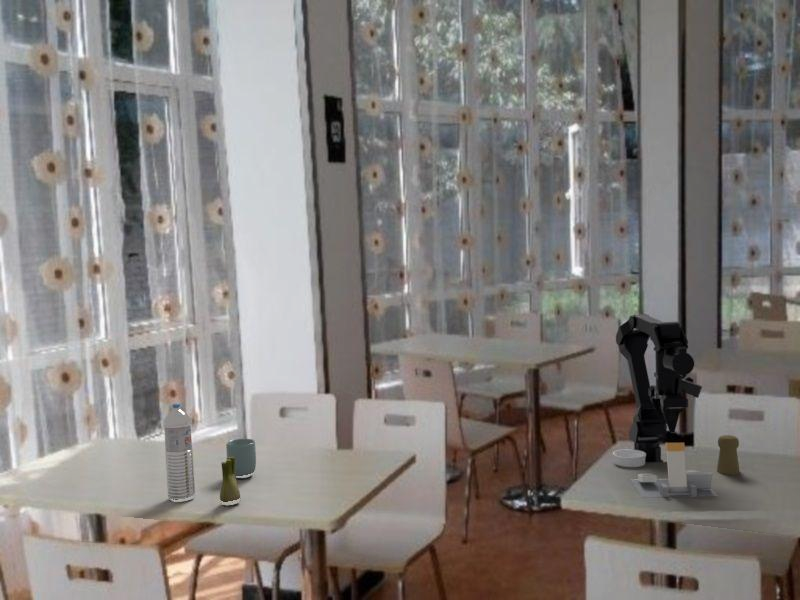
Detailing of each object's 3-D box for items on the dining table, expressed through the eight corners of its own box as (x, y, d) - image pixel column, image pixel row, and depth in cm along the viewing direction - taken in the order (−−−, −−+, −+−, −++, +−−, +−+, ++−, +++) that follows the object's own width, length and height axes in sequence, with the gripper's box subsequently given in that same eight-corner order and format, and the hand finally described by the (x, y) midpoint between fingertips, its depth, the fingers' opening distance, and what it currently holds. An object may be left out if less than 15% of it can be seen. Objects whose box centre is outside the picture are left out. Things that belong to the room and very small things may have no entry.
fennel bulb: (226, 509, 219) (224, 462, 217) (214, 505, 222) (212, 459, 221) (245, 503, 223) (243, 457, 222) (233, 499, 226) (231, 454, 225)
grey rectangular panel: (684, 487, 218) (685, 471, 216) (709, 486, 217) (710, 471, 215) (685, 490, 216) (687, 475, 214) (710, 490, 216) (712, 474, 214)
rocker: (638, 480, 225) (637, 473, 225) (652, 480, 225) (652, 473, 225) (642, 482, 220) (641, 475, 220) (656, 481, 220) (656, 474, 220)
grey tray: (629, 484, 228) (629, 469, 227) (700, 483, 227) (700, 468, 226) (641, 503, 213) (641, 487, 212) (717, 502, 212) (718, 486, 211)
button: (682, 479, 224) (682, 470, 223) (697, 479, 223) (697, 470, 223) (686, 484, 220) (686, 474, 220) (701, 484, 220) (701, 474, 219)
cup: (222, 480, 244) (220, 444, 243) (238, 472, 251) (236, 437, 250) (247, 482, 241) (245, 446, 240) (261, 474, 248) (260, 439, 247)
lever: (668, 493, 214) (664, 442, 216) (686, 493, 214) (683, 442, 216) (669, 493, 213) (666, 442, 215) (688, 493, 212) (684, 442, 214)
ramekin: (610, 471, 240) (610, 456, 239) (615, 463, 248) (615, 447, 248) (644, 474, 236) (644, 458, 236) (647, 465, 245) (647, 450, 244)
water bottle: (181, 504, 223) (175, 407, 221) (162, 501, 227) (156, 405, 225) (200, 497, 229) (195, 402, 227) (182, 493, 233) (176, 400, 230)
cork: (742, 480, 228) (742, 439, 227) (717, 480, 229) (717, 438, 228) (738, 474, 234) (738, 433, 233) (714, 473, 235) (714, 432, 234)
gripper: (708, 374, 221) (709, 435, 222) (689, 363, 239) (690, 420, 240) (663, 375, 221) (664, 436, 222) (647, 365, 240) (648, 421, 241)
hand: (668, 428), depth 231 cm, fingers open, 9 cm apart
